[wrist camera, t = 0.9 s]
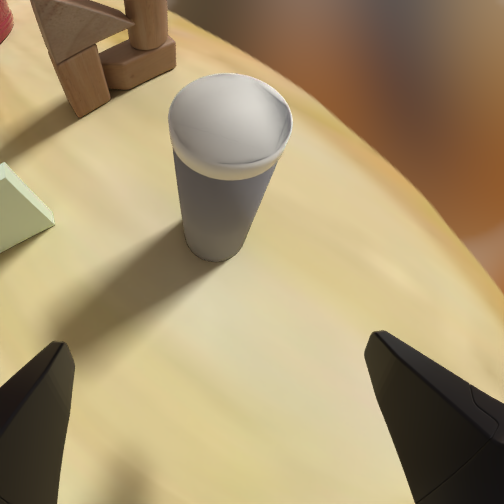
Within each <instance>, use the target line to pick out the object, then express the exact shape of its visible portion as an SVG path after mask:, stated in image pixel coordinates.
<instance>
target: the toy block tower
mask: <svg viewBox="0 0 504 504" xmlns="http://www.w3.org/2000/svg"><path fill="white" fill-rule="evenodd" d="M30 2H31V5H32V8H33V11H34V14H35V17H36V20H37V23H38V25H39V28H40V31H41V34H42V37H43V39H44V42H45V45H46V47H47V49H48V53H49V56H50V59H51V61H52V64H53V66H54V69H55V71H56V73H57V76H58V78H59V81H60V83H61V85H62V88H63V90H64V92H65V95H66V97H67V99H68V101H69V103H70V105H71V106H72V108H73V110H74V112H75V113H76V115H77V116H78V117H83V116H84V115H86V114H88V113H89V112H91V111H93V110H94V109H96V108H98V107H99V106H101V105H103V104H105V103H106V102H108V101H109V100H110V93H109V90H108V89H123V90H128V89H131V88H133V87H135V86H137V85H139V84H141V83H143V82H145V81H147V80H149V79H151V78H153V77H155V76H157V75H160V74H162V73H164V72H166V71H168V70H171V69H173V68H175V67H176V43H175V41H174V40H173V39H172V38H171V37H170V36H169V35H168V18H167V0H124V5H125V13H126V15H124V14H123V13H122V12H121V11H119V10H117V9H114V8H111V7H108V6H105V5H102V4H100V3H97V2H93V1H90V0H30ZM125 29H128V34H129V39H128V40H126V41H124V42H122V43H120V44H117V45H115V46H113V47H111V48H109V49H107V50H105V51H103V52H101V53H98V49H97V45H96V44H95V43H97V42H99V41H101V40H103V39H105V38H107V37H110V36H112V35H114V34H116V33H118V32H121V31H123V30H125Z"/></svg>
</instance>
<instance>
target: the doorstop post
mask: <svg viewBox="0 0 504 504" xmlns="http://www.w3.org/2000/svg"><path fill="white" fill-rule="evenodd" d="M168 122H169V131H170V139H171V144H172V146H173V154H174V162H175V170H176V178H177V186H178V193H179V200H180V207H181V214H182V221H183V227H184V234H185V239H186V242H187V245H188V247H189V248H190V250H191V251H192V252H193V253H194V254H195V255H196V256H198V257H199V258H201V259H204V260H206V261H211V262H220V261H225V260H227V259H229V258H231V257H233V256H234V255H236V254H237V253H238V252H239V250H240V249H241V247H242V246H243V243H244V241H245V239H246V236H247V234H248V231H249V229H250V227H251V224H252V222H253V219H254V217H255V215H256V212H257V210H258V207H259V205H260V203H261V200H262V198H263V195H264V193H265V191H266V188H267V186H268V183H269V181H270V179H271V176H272V174H273V172H274V169H275V167H276V164H277V162H278V160H279V158H280V157H281V155H282V153H283V151H284V149H285V147H286V144H287V142H288V140H289V137H290V135H291V132H292V125H293V120H292V114H291V111H290V108H289V106H288V104H287V103H286V101H285V99H284V98H283V97H282V96H281V95H280V94H279V93H278V92H277V91H276V90H275V89H274V88H272V87H271V86H270V85H268V84H266V83H264V82H263V81H260V80H258V79H256V78H253V77H250V76H246V75H241V74H233V73H221V74H213V75H208V76H205V77H202V78H199V79H197V80H195V81H193V82H191V83H189V84H188V85H186V86H185V87H184V88H183V89H182V90H180V91H179V92H178V94H177V95H176V96H175V98H174V99H173V101H172V103H171V106H170V109H169V114H168Z"/></svg>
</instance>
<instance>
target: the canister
mask: <svg viewBox="0 0 504 504" xmlns="http://www.w3.org/2000/svg"><path fill="white" fill-rule="evenodd" d="M13 25H14V22H13V14H12V12H11V10H10V9H9V7H8V4H7V1H6V0H0V43H1V42H2V41H3V40H4V39H5V38H6V37H7V35H8V34H9V33H10V31H11V30H12V28H13Z"/></svg>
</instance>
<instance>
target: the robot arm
mask: <svg viewBox="0 0 504 504" xmlns="http://www.w3.org/2000/svg"><path fill="white" fill-rule="evenodd" d="M364 357H365V361H366V364H367V368H368V371H369V375H370V378H371V382H372V385H373V389H374V392H375V396H376V399H377V401H378V404H379V407H380V409H381V412H382V414H383V417H384V419H385V422H386V424H387V427H388V430H389V432H390V435H391V437H392V440H393V443H394V445H395V448H396V451H397V454H398V456H399V459H400V462H401V464H402V467H403V470H404V473H405V476H406V478H407V481H408V484H409V487H410V490H411V493H412V496H413V499H414V502H415V504H504V403H502V402H500V401H498V400H496V399H494V398H492V397H491V396H489V395H487V394H486V393H484V392H482V391H481V390H479V389H477V388H476V387H474V386H473V385H470V384H469V383H468V382H466V381H465V380H463V379H461V378H460V377H458V376H457V375H455V374H454V373H452V372H450V371H449V370H447V369H446V368H444V367H442V366H441V365H439V364H438V363H436V362H434V361H433V360H431V359H430V358H428V357H427V356H425V355H423V354H422V353H420V352H419V351H417V350H415V349H414V348H412V347H411V346H409V345H407V344H406V343H404V342H403V341H401V340H399V339H398V338H396V337H395V336H393V335H391V334H390V333H388V332H387V331H384V330H381V331H374V332H372V334H371V335H370V338H369V341H368V343H367V346H366V349H365V352H364ZM74 372H75V364H74V360H73V358H72V355H71V353H70V350H69V348H68V345H67V344H66V343H65V342H61V341H53V342H51V343H50V344H49V345H48V346H46V347H45V348H44V349H43V350H42V351H41V352H40V353H38V354H37V355H36V356H35V357H34V358H33V359H32V360H30V361H29V362H28V363H27V364H26V365H25V366H24V367H22V368H21V369H20V370H19V371H18V372H17V373H16V374H15V375H14V376H12V377H11V378H10V379H9V380H8V381H7V382H6V383H5V384H4V385H3V386H1V387H0V504H57V499H58V489H59V480H60V472H61V464H62V457H63V450H64V444H65V438H66V433H67V427H68V422H69V416H70V409H71V398H72V389H73V380H74Z"/></svg>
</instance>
